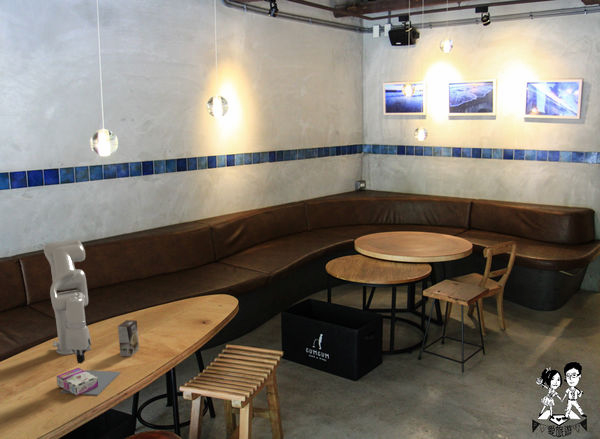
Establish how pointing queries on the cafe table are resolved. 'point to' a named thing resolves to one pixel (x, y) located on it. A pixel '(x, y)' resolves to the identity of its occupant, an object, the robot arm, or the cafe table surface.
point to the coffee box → (128, 338)
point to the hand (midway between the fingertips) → (81, 362)
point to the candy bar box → (77, 381)
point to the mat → (99, 381)
